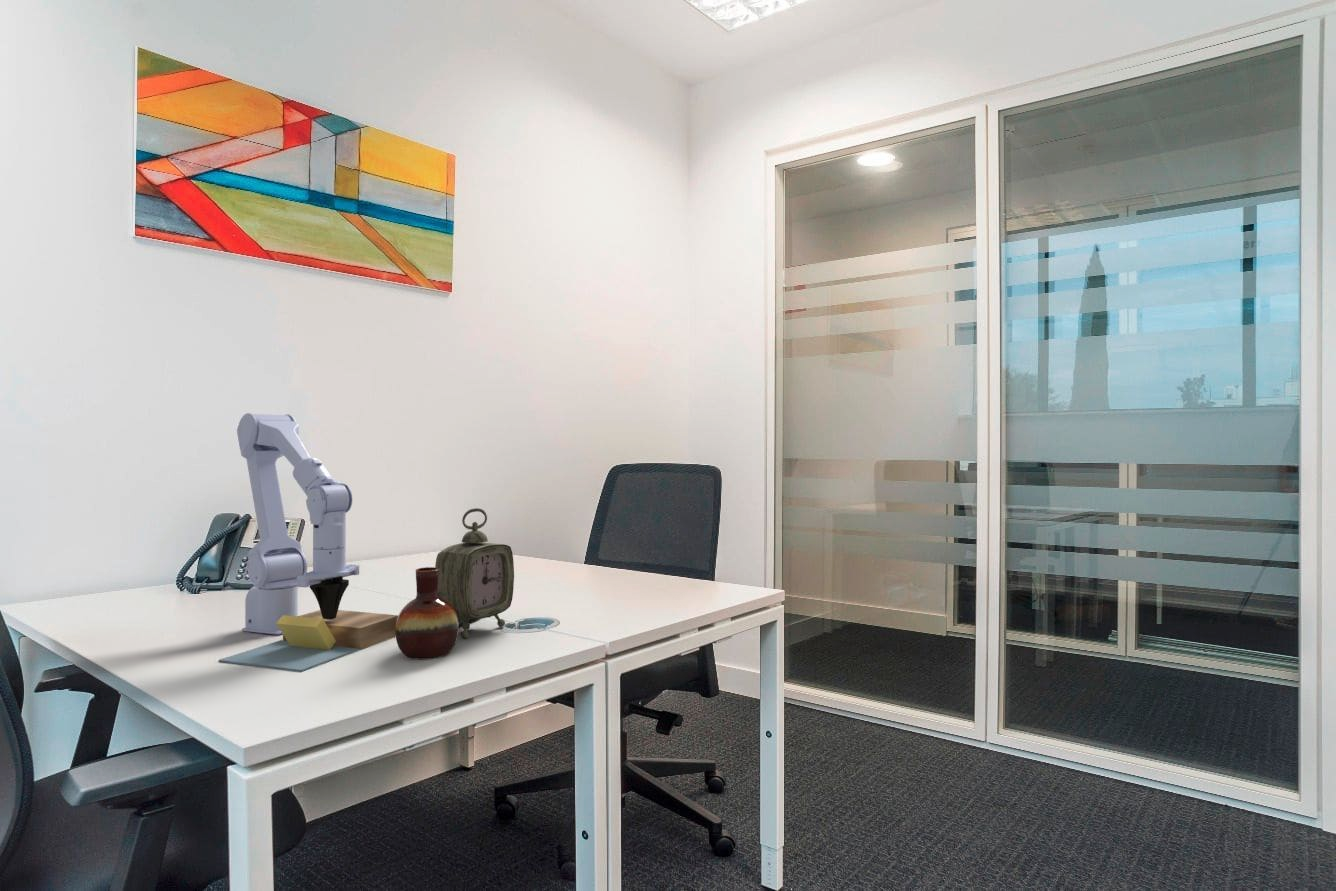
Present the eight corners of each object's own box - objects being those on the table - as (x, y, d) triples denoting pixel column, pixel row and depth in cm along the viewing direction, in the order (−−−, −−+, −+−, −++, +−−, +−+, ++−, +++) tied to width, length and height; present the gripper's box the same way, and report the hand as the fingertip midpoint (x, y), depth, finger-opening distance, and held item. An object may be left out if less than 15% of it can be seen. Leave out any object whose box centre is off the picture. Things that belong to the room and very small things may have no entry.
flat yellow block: (296, 637, 149) (290, 645, 147) (282, 615, 146) (276, 623, 144) (336, 641, 146) (329, 649, 145) (322, 618, 143) (316, 627, 141)
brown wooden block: (282, 641, 152) (282, 620, 152) (324, 628, 162) (324, 608, 162) (360, 649, 146) (360, 628, 146) (398, 635, 156) (398, 615, 156)
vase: (390, 663, 137) (390, 575, 137) (399, 646, 148) (399, 564, 148) (456, 660, 140) (456, 573, 139) (460, 644, 150) (460, 563, 150)
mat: (218, 661, 138) (218, 659, 138) (280, 641, 151) (280, 640, 151) (301, 671, 132) (301, 669, 132) (358, 650, 146) (358, 648, 146)
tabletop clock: (464, 642, 152) (464, 512, 152) (430, 636, 156) (430, 510, 156) (513, 626, 164) (514, 506, 164) (481, 621, 169) (481, 504, 169)
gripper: (318, 553, 142) (318, 628, 143) (372, 543, 156) (372, 611, 156) (287, 551, 145) (287, 625, 145) (342, 541, 158) (342, 609, 159)
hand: (329, 618), depth 151 cm, fingers closed
